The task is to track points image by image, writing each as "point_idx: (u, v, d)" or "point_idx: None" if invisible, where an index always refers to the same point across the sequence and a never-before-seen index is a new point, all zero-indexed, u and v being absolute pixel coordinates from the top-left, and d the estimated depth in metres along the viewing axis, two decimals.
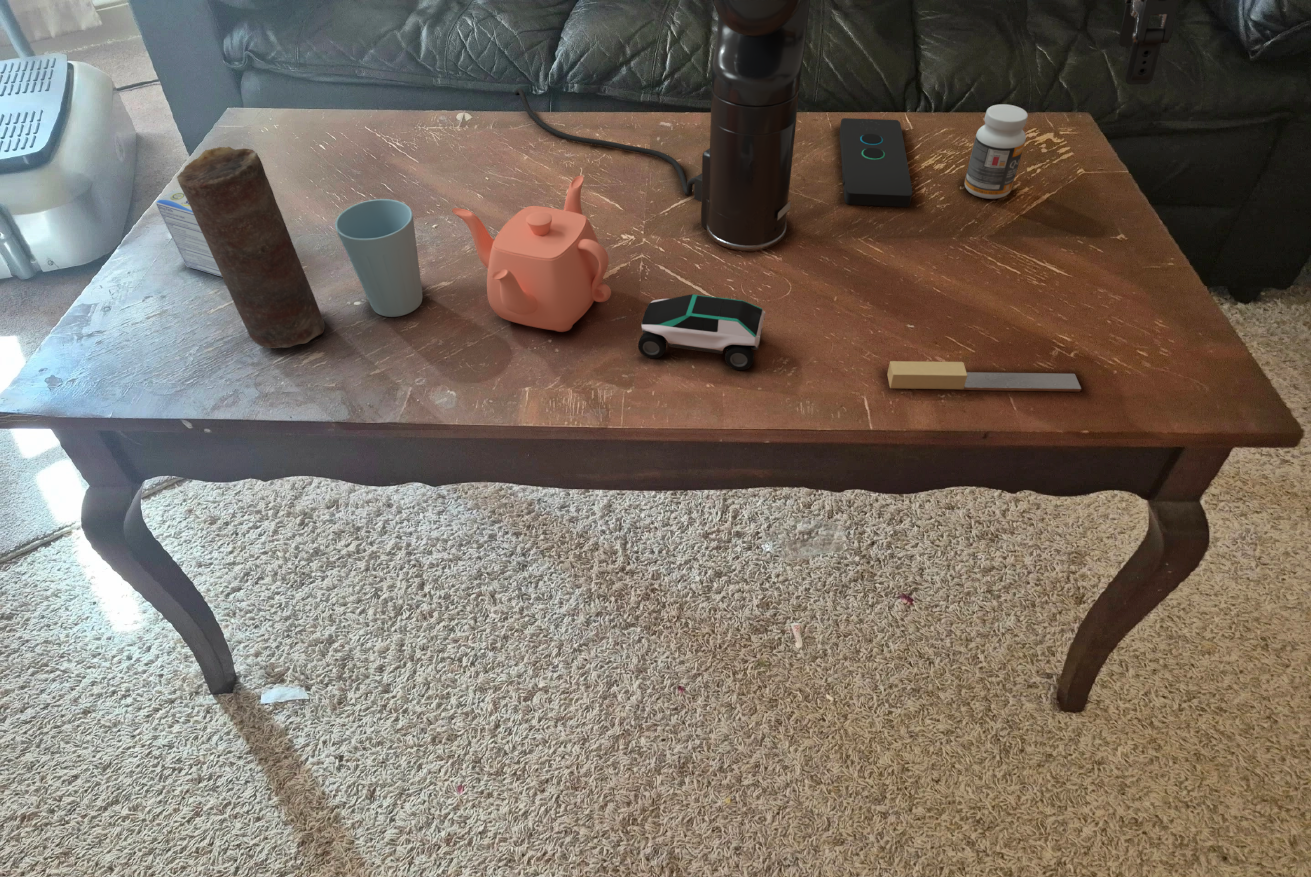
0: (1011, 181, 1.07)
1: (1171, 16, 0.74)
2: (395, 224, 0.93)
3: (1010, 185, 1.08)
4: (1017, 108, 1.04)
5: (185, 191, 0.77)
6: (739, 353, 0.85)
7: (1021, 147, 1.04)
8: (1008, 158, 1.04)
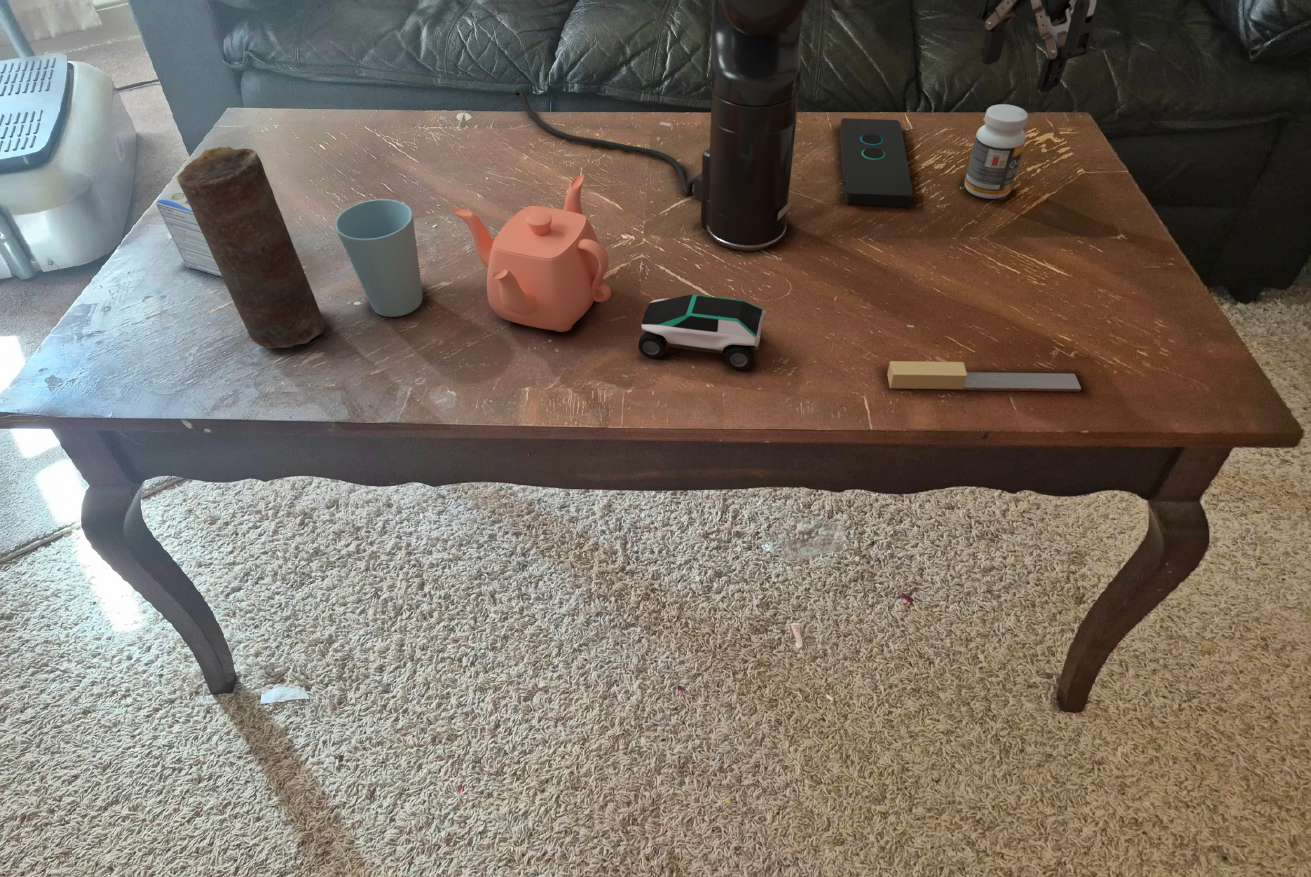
0: (1011, 181, 1.07)
1: (1090, 34, 0.91)
2: (395, 224, 0.93)
3: (1010, 185, 1.08)
4: (1017, 108, 1.04)
5: (185, 191, 0.77)
6: (739, 353, 0.85)
7: (1021, 147, 1.04)
8: (1008, 158, 1.04)
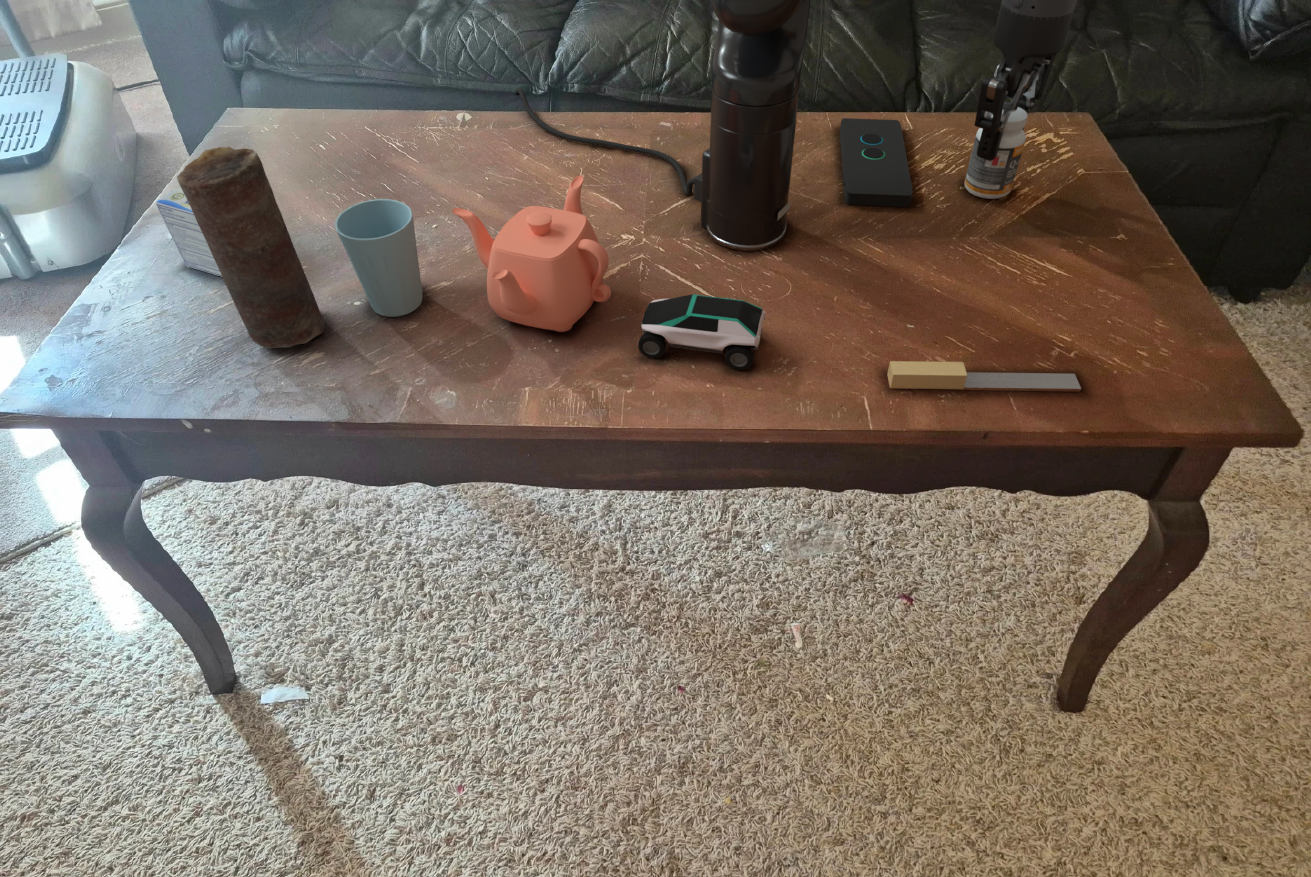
0: (1011, 181, 1.07)
1: None
2: (395, 224, 0.93)
3: (1010, 185, 1.08)
4: (1017, 108, 1.04)
5: (185, 191, 0.77)
6: (739, 353, 0.85)
7: (1021, 147, 1.04)
8: (1008, 158, 1.04)
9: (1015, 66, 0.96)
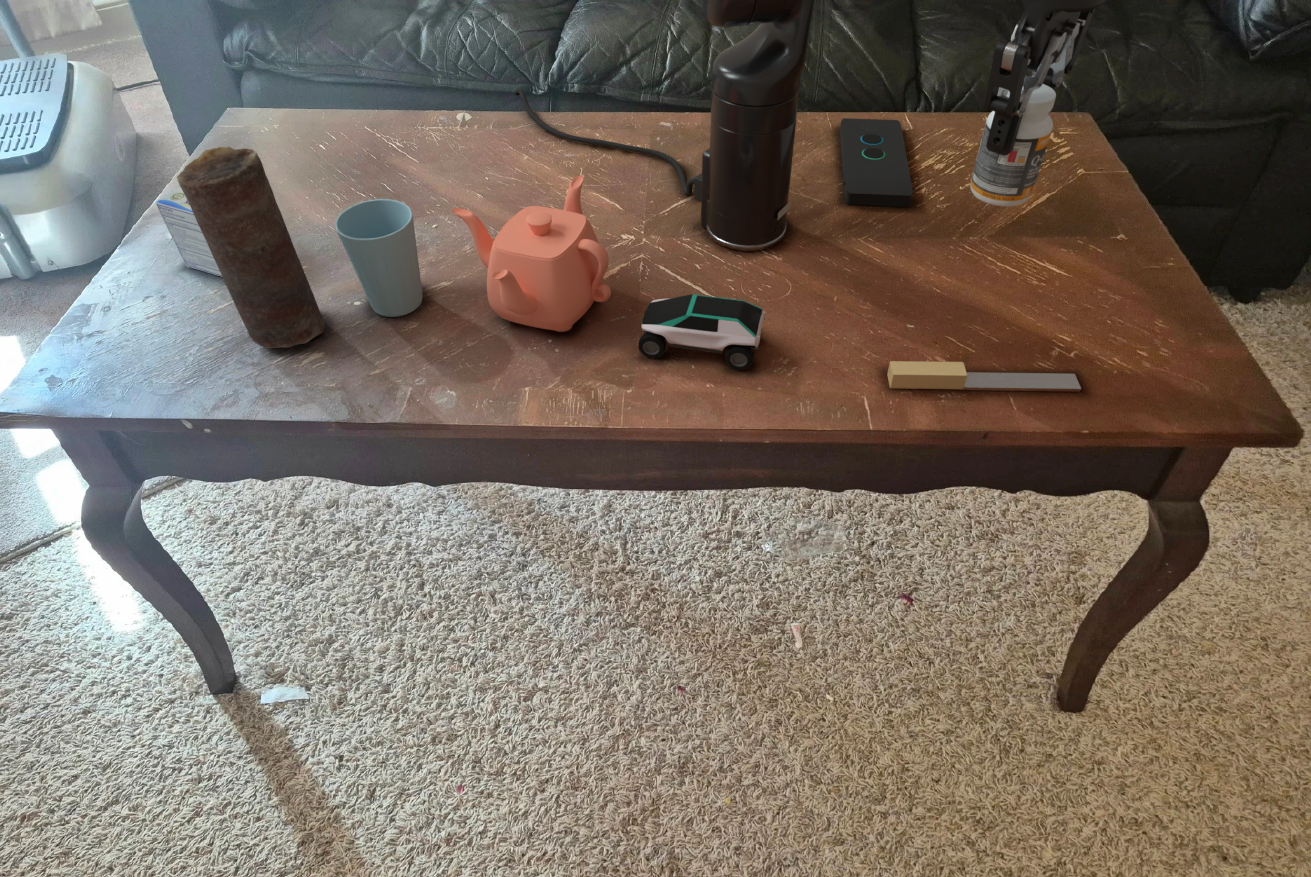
0: (1032, 183, 0.81)
1: None
2: (395, 224, 0.93)
3: (1031, 188, 0.81)
4: None
5: (185, 191, 0.77)
6: (739, 353, 0.85)
7: (1047, 138, 0.78)
8: (1030, 152, 0.78)
9: (1041, 24, 0.69)
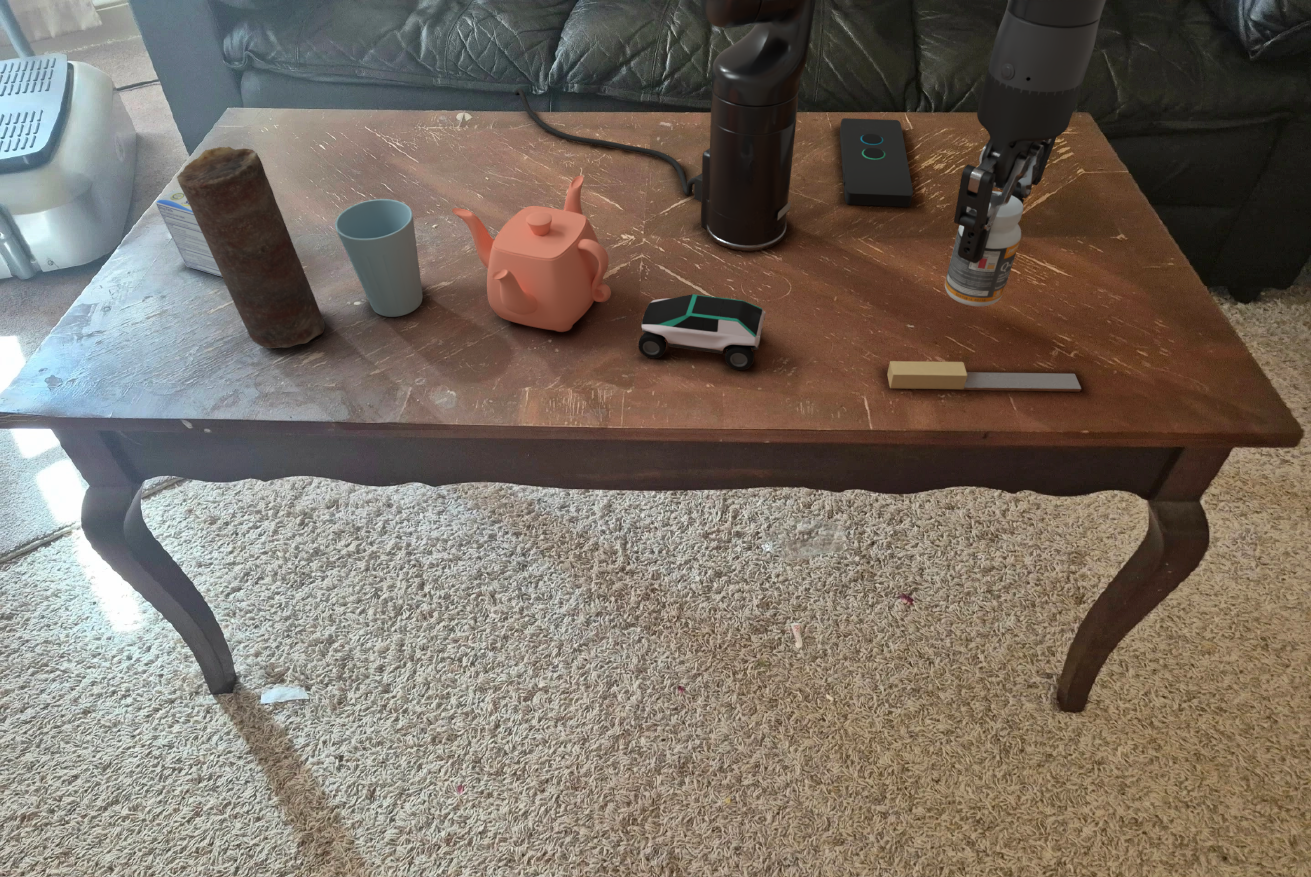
0: (1003, 286, 0.85)
1: None
2: (395, 224, 0.93)
3: (1001, 290, 0.85)
4: None
5: (185, 191, 0.77)
6: (739, 353, 0.85)
7: (1015, 246, 0.82)
8: (999, 260, 0.82)
9: (1005, 151, 0.74)
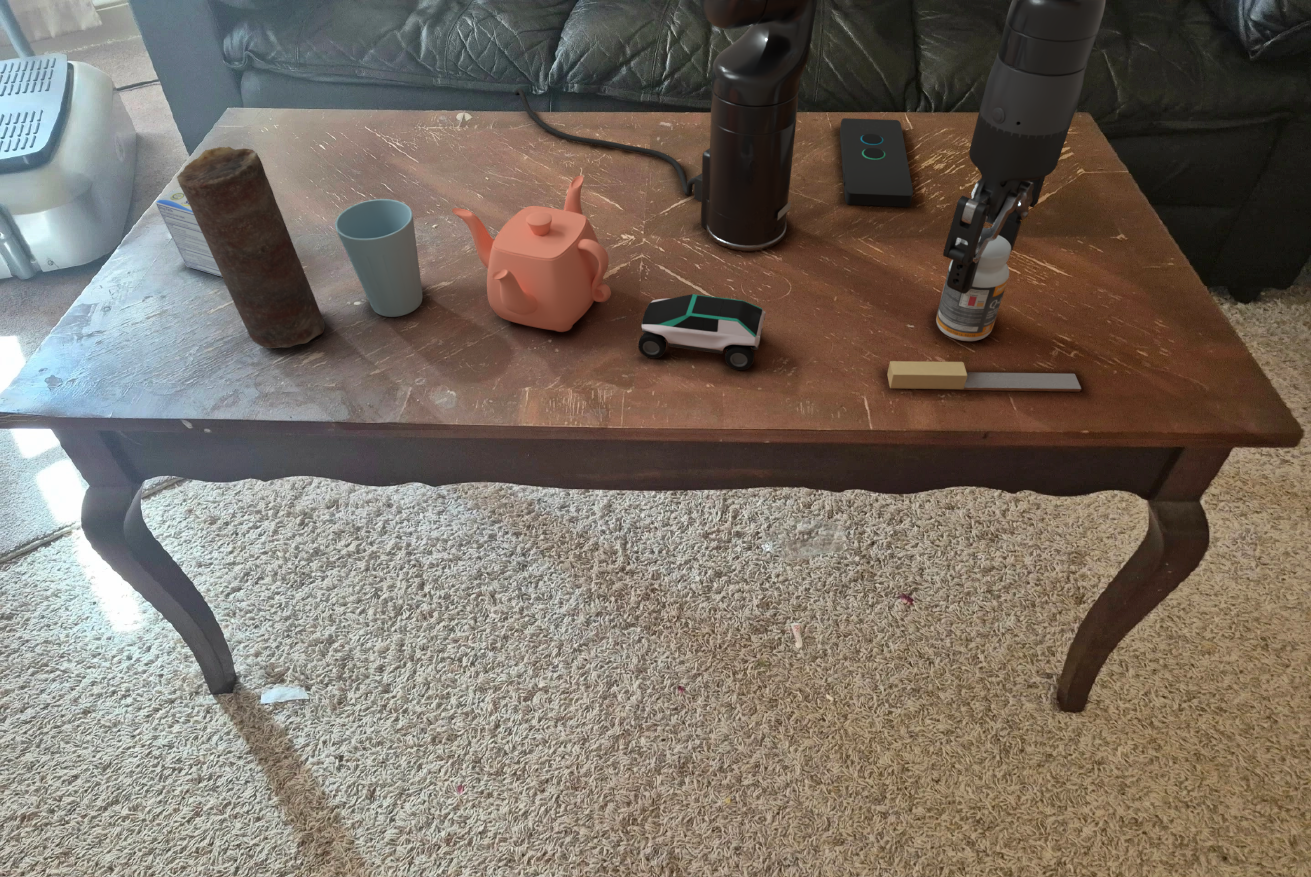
0: (992, 321, 0.88)
1: None
2: (395, 224, 0.93)
3: (991, 326, 0.89)
4: (998, 238, 0.85)
5: (185, 191, 0.77)
6: (739, 353, 0.85)
7: (1003, 285, 0.85)
8: (988, 298, 0.85)
9: (997, 190, 0.77)
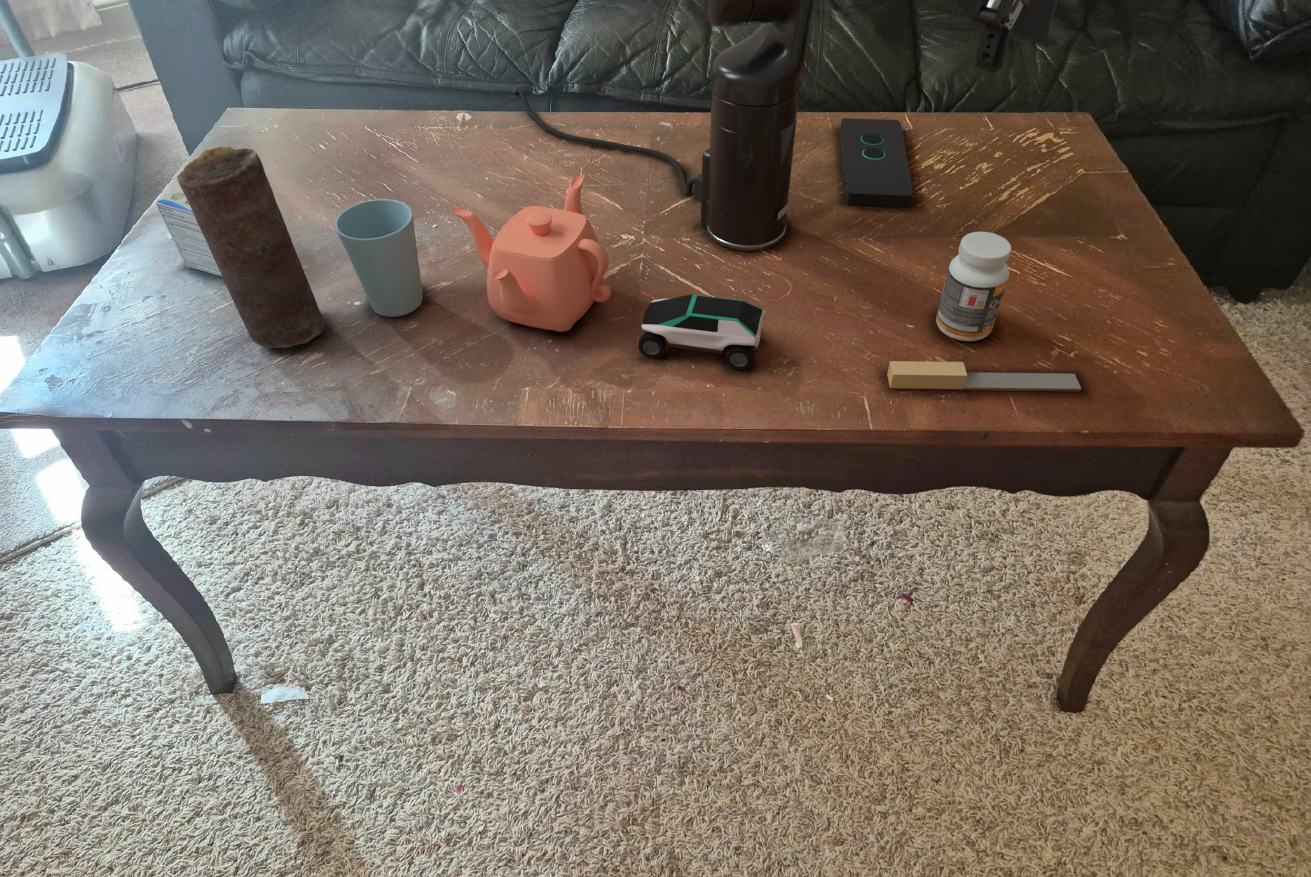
0: (992, 321, 0.88)
1: None
2: (395, 224, 0.93)
3: (991, 326, 0.89)
4: (998, 238, 0.85)
5: (185, 191, 0.77)
6: (739, 353, 0.85)
7: (1003, 285, 0.85)
8: (988, 298, 0.85)
9: None
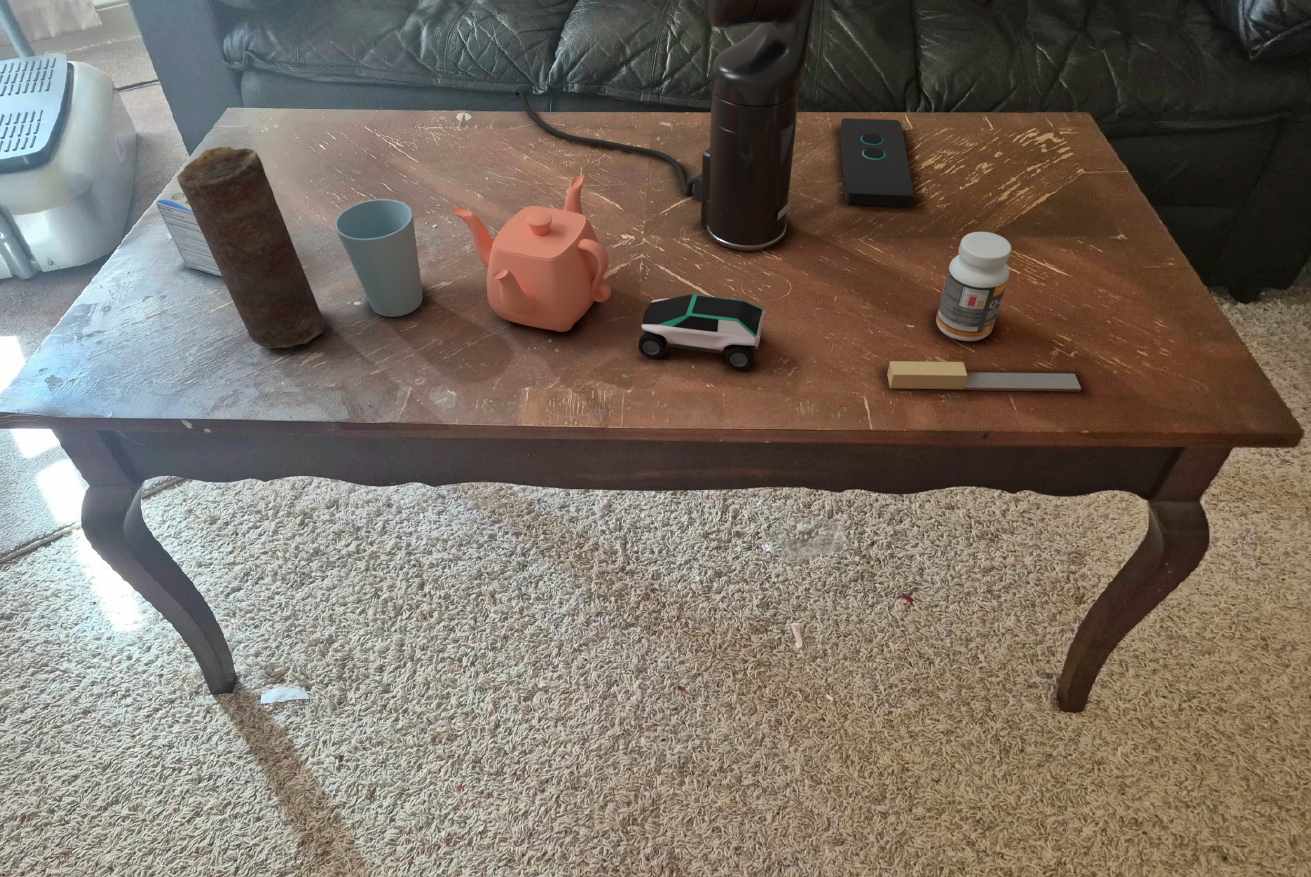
0: (992, 321, 0.88)
1: None
2: (395, 224, 0.93)
3: (991, 326, 0.89)
4: (998, 238, 0.85)
5: (185, 191, 0.77)
6: (739, 353, 0.85)
7: (1003, 285, 0.85)
8: (988, 298, 0.85)
9: None
